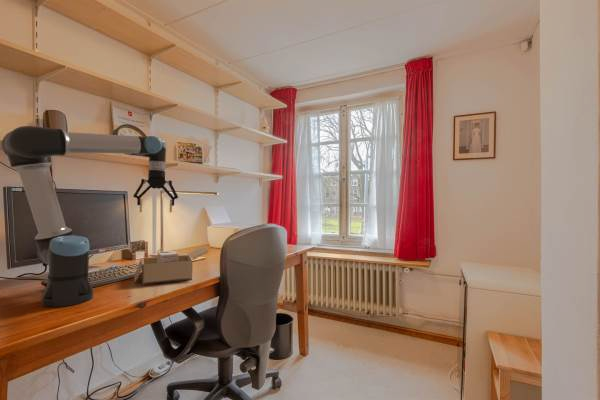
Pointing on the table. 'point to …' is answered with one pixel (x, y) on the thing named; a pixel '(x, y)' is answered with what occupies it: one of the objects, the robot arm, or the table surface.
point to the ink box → (167, 257)
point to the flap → (198, 252)
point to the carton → (164, 270)
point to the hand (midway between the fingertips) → (155, 212)
